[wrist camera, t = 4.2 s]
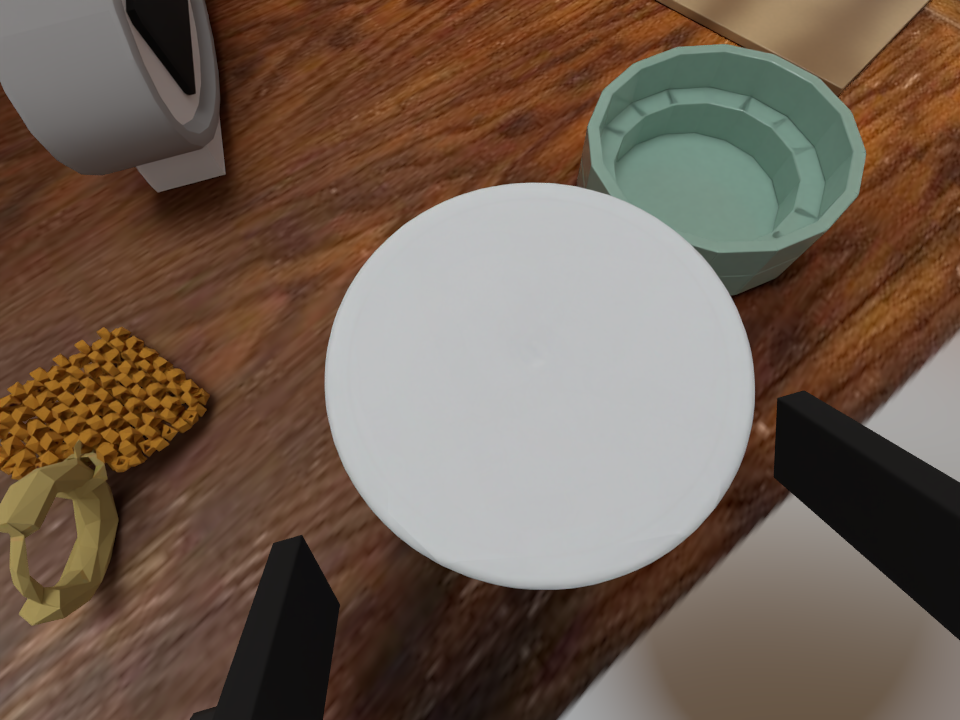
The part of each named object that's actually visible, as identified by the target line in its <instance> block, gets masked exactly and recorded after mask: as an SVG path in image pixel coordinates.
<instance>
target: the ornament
mask: <svg viewBox="0 0 960 720" xmlns="http://www.w3.org/2000/svg"><path fill="white" fill-rule="evenodd" d="M97 333H98V335H99V336H100V337H101V338H102V339H101V340H99V339H98V340H97V341H96V342H94V343H93V345H92V346H91V347H90V346H89V345H88V344H86V343H85V342H84V341H83V340H81V341H80V342H78V343H76V344H74V345H75V346H76V348H77V349H78V350H80V351H81V352H82V353H79V354H76V355H72V356H71V357H69V360H68V359H67V358H65V357H64V356H63V355H62V354H60V355H58V356H57V357H55V358H53V359H52V360H53V361H55V362H56V363H57V364H58V365H59V366H60V367H59V366H57V365H56V366H52V367H51V369H50V370H49V371H48V373H47V372H46V371H45V370H44V369H42V368H41V367H39V368H38V369H36V370H34V371H33V372H31V373H29V374H30V375H31V376H32V377H33V378H34V379H35V380H33V381H27V382H26V384H25V385H23V386H22V385H21V384H20V383H19V382H17V383H15V384H14V385H13V386H11V387H10V388H8V389H7V390H8V391H9V392H10V393H12V394H11V395H8V396H6V397H3V398H1V399H0V439H2V440H1V445H2V446H0V470H2V471H3V472H5V473H6V474H8V475H10V474H12V479H17V480H19V481H17V482H16V483H14V484H13V485H11V486H10V487H9V489H8V491H7V493H6V495H5V497H4V498H3V500H2V502H1V504H0V532H3V533H10V537H11V541H10V571H11V576H12V580H13V584H14V585H15V587H16V588H17V589H18V590H19V591H20V593H21V594H22V595H23V596H24V597H26V598H28V599H27V601H26V602H25V604H24V606H23V608H22V609H21V611H20V613H19V615H20V616H22V617H23V618H24V619H25V620H26V621H27V622H28V623H30V624H31V625H36V624H41V623H45V622H50V621H54V620H58V619H63V618H65V617H67V616H68V615H69V614H71V613H72V612H74V611H75V610H76V609H78V608H79V607H81V606H82V605H84V604H85V603H86V602H88V601H89V600H91V598H92V597H93V595H94V593H95V592H96V590H97V588H98V587H99V585H100V584H101V582H102V580H103V577H104V575H105V572H106V570H107V568H108V565H109V563H110V560H111V556H112V551H113V546H114V541H115V536H116V531H117V526H118V521H119V519H118V515H117V511H116V507H115V503H114V499H113V495H112V491H111V488H110V486H109V485H108V483H107V482H106V480H107V479H108V478H107V474H106V469H105V464H104V463H107V464H108V465H109V466H110V468H111V469H112V470H113V471H116V472H125V471H126V470H128V469H129V468H130V467H132V466H133V467H135V466H137V465H139V464H141V463H144V462H145V460H146V459H147V458H146V457H145V456H143V455H142V452H141V450H143V452H144V453H145V454H146V455H147V456H149V457H150V456H151V455H152V453H153V452H154V451H155V450H156V449H157V450H158V451H161V450H162V449H163V448H165V447H166V446H168V445H169V443H168V442H167V441H166V440H165V439H167V440H169V441H171V440H172V438H173V437H174V436H175V435H176V434H177V433H178V431H179V432H180V433H184V432H185V431H187V430H189V429H190V428H192V427H191V426H192V425H194V424H195V423H196V422H197V421H198V420H199V419H198V416H200V417H202V416H203V414H204V413H205V411H206V410H207V409H206V408H204V407H203V406H202V405H206V403H207V401H208V399H209V396H210V395H209V394H208V393H207V392H206V391H205V390H204V389H203V388H202V389H200V388H199V387H198V386H197V385H196V384H195V383H194V382H193V381H192V379H189V380H186V379H185V373H184V372H183V371H182V370H181V369H177V368H176V369H174V368H173V364H171V363H170V362H168V361H166V360H165V359H163V358H162V357H160V356H159V357H158V355H159V353H158V352H156V351H155V350H154V349H150V348H147V347H144V342H143V341H142V340H140V339H138V338H136V337H134V336H132V337H131V338H129V336H130V334H131V332H130V331H128V330H126V329H125V328H123V327H120V328H119V329H116V328H115V329H114V330H113V331H112V332H111V333H110V332H109V331H108V330H107V329H105V328H104V327H103V328H102V329H100V330H99V331H97ZM105 341H107V342H105ZM111 349H112V350H111ZM119 351H120V352H121V353H120V352H119ZM91 352H92V353H91ZM136 352H137V353H136ZM121 357H122V358H123V359H124V360H125V361H121ZM130 360H131V361H130ZM90 362H92V363H93V364H88V363H90ZM148 362H150V364H149V363H148ZM113 363H117V368H116V367H115V366H114V365H113ZM79 368H84V371H85V374H84V373H83V372H82V371H81V370H80V369H79ZM138 369H142V370H141V371H139V370H138ZM143 370H144V371H145V372H146V373H145V372H144V371H143ZM103 372H104V373H103ZM102 373H103V374H102ZM100 374H101V375H100ZM109 375H111V376H109ZM128 376H129V377H128ZM90 377H91V378H93V380H94V381H95V382H94V381H93V380H92V379H91V378H90ZM115 380H116V381H117V382H121V383H122V384H123V385H124V386H125V387H124V386H121V385H120V383H117V384H116V381H115ZM151 380H152V381H153V382H150V381H151ZM157 381H158V382H157ZM58 382H59V383H60V384H59V383H58ZM97 383H98V384H99V385H100V386H101V387H100V386H99V385H98V384H97ZM160 383H161V384H160ZM177 384H178V385H177ZM138 385H139V386H141V387H143V389H142V388H141V387H139V386H138ZM79 386H81V388H79ZM78 388H79V389H78ZM77 389H78V390H77ZM105 389H106V391H105ZM107 391H108V392H109V393H110V394H111V395H112V396H113V397H114V398H116V399H117V400H116V399H114V398H113V397H112V396H111V395H110V394H109V393H108V392H107ZM70 392H71V393H73V394H74V395H72V394H71V393H70ZM165 392H167V393H165ZM172 393H173V394H174V395H175V396H174V397H175V398H174V397H171V396H170V394H172ZM136 397H137V398H136ZM96 398H97V399H96ZM98 399H101V400H102V401H100V400H98ZM119 399H120V400H119ZM56 400H58V401H59V402H57V403H55V402H56ZM118 400H119V401H120V402H121V403H122V404H124V405H125V406H123V405H122V404H121V403H120V402H119V401H118ZM184 403H186V404H187V405H188V406H190V407H189V408H188V409H187V410H185V407H184V406H182V405H181V404H184ZM86 404H87V405H86ZM200 404H202V405H200ZM48 407H49V408H50V409H49V408H48ZM148 407H149V408H150V409H152V410H153V411H154V412H152V411H151V410H150V409H149V408H148ZM155 411H156V412H155ZM72 412H73V413H72ZM115 412H116V413H115ZM98 415H99V416H102V418H100V417H99V416H98ZM192 415H193V416H194V417H192ZM34 416H37V417H38V418H37V419H30V418H32V417H34ZM179 417H182V418H179ZM28 419H29V420H28ZM162 419H163V420H165V421H166V422H168V423H170V424H171V425H172V426H173V427H171V426H168V425H166V424H164V423H162V422H161V420H162ZM26 420H28V422H27V423H26V424H24V423H23V422H22V421H26ZM44 422H45V423H47V424H46V425H47V426H46V425H45V423H44ZM129 425H133V426H134V427H135V429H134V428H132V427H131V426H129ZM48 427H49V428H51V429H52V430H50V429H49V428H48ZM10 429H11V430H10ZM114 429H116V430H114ZM8 432H10V433H9V434H8ZM170 432H171V433H170ZM143 435H145V436H146V437H147V438H148V440H145V439H144V438H143V437H142V436H143ZM161 435H162V437H163V438H165V439H163V438H162V437H161ZM20 440H22V441H24V442H25V443H26V445H24V444H23V443H22V442H21V441H20ZM63 440H64V441H65V442H63ZM114 443H115V444H114ZM72 447H73V448H74V449H73V448H72ZM148 447H150V448H149V449H147V450H146V449H145V448H148ZM73 450H74V451H73ZM117 451H119V453H118V452H117ZM35 453H37V454H38V455H39V456H40V457H39V458H36V455H35ZM103 462H104V463H103ZM93 463H94V464H95V466H96V468H95V471H94V470H92V469H91V468H90V467H88V466H90V465H92V464H93ZM15 465H16V466H15ZM55 497H60V498H66V499H73V506H74V513H75V520H76V527H77V535H78V537H77V540H76V542H75V544H74V547H73V549H72V552H71V554H70V557H69V559H68V562H67V564H66V566H65V569H64V571H63V574H62V576H61V579H60V581H59V582H58V583H57V584H56V585H55V586H54V587H45V588H44V587H43V586H42V585H40V584H39V583H38V582H37V581H36V580H34V579H33V578H32V577H31V576H30V575H29V569H28V561H27V553H26V545H25V538H26V537H27V536H29V535H31V534H32V533H34V532H35V531H37V530H38V529H40V527H41V525H42V523H43V521H44V519H45V517H46V515H47V513H48V511H49V509H50V507H51V505H52V503H53V501H54V499H55Z"/></svg>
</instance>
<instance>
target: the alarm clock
mask: <svg viewBox="0 0 960 720" xmlns="http://www.w3.org/2000/svg"><path fill="white" fill-rule="evenodd" d="M0 82H1V84H2V86H3V89H4V91H5V93H6V94H7V96H8V97H9V99H10V101H11V102H12V104H13V105H14V107H15V108H16V110H17V112H18V113H19V115H20V116H21V118H22V119H23V121H24V123H25V124H26V126H27V127H28V129H29V130H30V132H31V133H32V134H33V135H34V136H35V137H36V138H37V140H38V141H39V142H40V143H41V144H42V145H43V146H44V147H45V148H46V149H47V150H48V151H49V152H50V153H51V154H52V155H53V156H54V157H55V158H56V160H58V161H59V162H61V163H63V164H64V165H66V166H68V167H70V168H71V169H73V170H75V171H77V172H78V173H80V174H84V175H105V174H109V173H113V172H117V171H121V170H124V169H128V168H132V167H136V168H137V169H138V171H139V172H140V173H141V175H142V176H143V177H144V178H145V180H146V181H147V182H148V183H149V184H150V186H151V187H153V188H154V189H155V190H156V191H157V192H162V191H165V190H169V189H173V188H177V187H180V186H184V185H188V184H192V183H195V182H199V181H203V180H207V179H210V178H214V177H218V176H222V175H225V174H226V172H225V163H224V154H223V145H222V135H221V126H220V117H219V110H220V88H219V72H218V65H217V59H216V52H215V46H214V40H213V35H212V31H211V26H210V22H209V16H208V13H207V8H206V4H205V1H204V0H0Z"/></svg>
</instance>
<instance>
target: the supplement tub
mask: <svg viewBox="0 0 960 720" xmlns="http://www.w3.org/2000/svg"><path fill="white" fill-rule="evenodd" d="M325 400H326V408H327V414H328V419H329V423H330V427H331V432H332V436H333V440H334V443H335V446H336V449H337V451H338V454H339V456H340V459H341V461H342V463H343V466H344V468H345V470H346V472H347V473H348V475H349V477H350V479H351V481H352V482H353V484H354V486H355V487H356V489H357V490H358V492H359V494H360V495H361V496H362V498H363V499H364V500H365V502H366V503H367V504H368V506H369V507H370V508H371V510H372V511H373V512H374V513H375V514H376V515H377V516H378V517H379V519H380V520H381V521H382V522H383V523H384V524H385V525H386V526H387V527H388V528H389V529H390V530H391V531H393V532H394V533H395V534H396V535H397V536H398V537H399V538H401V539H402V540H403V541H404V542H406V543H407V544H408V545H410V546H411V547H412V548H413V549H415V550H416V551H418V552H420V553H421V554H423V555H425V556H426V557H428V558H430V559H431V560H433V561H434V562H436V563H438V564H440V565H442V566H444V567H446V568H448V569H451V570H453V571H455V572H458V573H460V574H463V575H465V576H467V577H470V578H473V579H477V580H480V581H484V582H488V583H491V584H495V585H500V586H505V587H511V588H519V589H531V590H558V589H570V588H578V587H584V586H589V585H595V584H598V583H601V582H605V581H608V580H612V579H615V578H617V577H620V576H623V575H626V574H629V573H631V572H633V571H636V570H638V569H640V568H642V567H644V566H646V565H648V564H651V563H652V562H654V561H655V560H657V559H659V558H660V557H662V556H664V555H665V554H667V553H668V552H670V551H671V550H672V549H674V548H675V547H676V546H678V545H679V544H680V543H682V542H683V541H684V540H685V539H686V538H687V537H688V536H690V535H691V534H692V533H693V532H694V531H695V530H696V529H697V528H698V527H699V526H700V525H701V524H702V523H703V522H704V520H705V519H706V518H707V517H708V516H709V515H710V514H711V512H712V511H713V510H714V509H715V508H716V506H717V505H718V503H719V502H720V500H721V499H722V497H723V496H724V494H725V493H726V491H727V490H728V488H729V486H730V484H731V483H732V481H733V479H734V477H735V475H736V473H737V471H738V469H739V467H740V464H741V461H742V459H743V456H744V454H745V450H746V447H747V444H748V440H749V436H750V431H751V427H752V421H753V414H754V405H755V380H754V368H753V360H752V354H751V349H750V345H749V342H748V338H747V334H746V331H745V328H744V326H743V323H742V320H741V318H740V315H739V313H738V310H737V308H736V306H735V304H734V302H733V300H732V298H731V296H730V294H729V292H728V291H727V289H726V288H725V286H724V284H723V283H722V281H721V280H720V278H719V277H718V276H717V274H716V273H715V271H714V270H713V268H712V267H711V266H710V265H709V264H708V262H707V261H706V260H705V259H704V258H703V256H702V255H701V254H700V253H699V252H698V251H697V250H696V249H695V248H694V247H693V246H692V245H691V244H690V243H688V242H687V241H686V240H685V239H684V238H683V237H682V236H681V235H679V234H678V233H677V232H675V231H674V230H673V229H672V228H670V227H669V226H667V225H666V224H665V223H663V222H662V221H660V220H659V219H657V218H656V217H654V216H652V215H651V214H649V213H647V212H645V211H644V210H642V209H640V208H638V207H636V206H634V205H632V204H629V203H627V202H625V201H623V200H620V199H618V198H615V197H613V196H610V195H607V194H603V193H600V192H597V191H593V190H589V189H585V188H581V187H576V186H569V185H562V184H554V183H516V184H507V185H500V186H494V187H489V188H483V189H479V190H476V191H472V192H469V193H466V194H463V195H459V196H457V197H454V198H452V199H449V200H447V201H445V202H442V203H440V204H438V205H436V206H434V207H432V208H430V209H429V210H427V211H425V212H423V213H421V214H420V215H418V216H417V217H415V218H414V219H412V220H411V221H409V222H407V223H406V224H405V225H403V226H402V227H401V228H400V229H399V230H397V231H396V232H395V233H394V234H393V235H391V236H390V237H389V238H388V239H387V240H386V241H385V242H384V243H383V244H382V245H381V246H380V247H379V248H378V249H377V250H376V251H375V252H374V253H373V254H372V256H371V257H370V258H369V259H368V260H367V262H366V263H365V264H364V265H363V267H362V268H361V269H360V271H359V272H358V274H357V275H356V277H355V279H354V280H353V282H352V283H351V285H350V287H349V288H348V290H347V292H346V294H345V296H344V298H343V300H342V303H341V305H340V307H339V309H338V311H337V314H336V317H335V320H334V323H333V326H332V330H331V335H330V339H329V343H328V348H327V355H326V363H325Z"/></svg>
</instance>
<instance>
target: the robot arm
mask: <svg viewBox="0 0 960 720" xmlns="http://www.w3.org/2000/svg"><path fill="white" fill-rule="evenodd" d="M774 478H775V479H776V480H778V481H779V482H780V483H781V484H782V485H783V486H784V487H786V488H787V489H788V490H789V491H790V492H791V493H792V494H794V495H795V496H796V497H797V498H798V499H799V500H800V501H802V502H803V503H804V504H805V505H806V506H807V507H808V508H810V509H811V510H812V511H813V512H814V513H815V514H816V515H818V516H819V517H820V518H821V519H822V520H823V521H824V522H826V523H827V524H828V525H829V526H830V527H831V528H832V529H833V530H835V531H836V532H837V533H838V534H839V535H840V536H841V537H843V538H844V539H845V540H846V541H847V542H848V543H849V544H851V545H852V546H853V547H854V548H855V549H856V550H857V551H859V552H860V553H861V554H862V555H863V556H864V557H865V558H867V559H868V560H869V561H870V562H871V563H872V564H873V565H875V566H876V567H877V568H878V569H879V570H880V571H882V572H883V573H884V574H885V575H886V576H887V577H888V578H889V579H891V580H892V581H893V582H894V583H895V584H896V585H897V586H898V587H900V588H901V589H902V590H903V591H904V592H905V593H907V594H908V595H909V596H910V597H911V598H913V600H914V601H916V602H917V603H918V604H919V605H920V606H921V607H922V608H924V609H925V610H926V611H927V612H928V613H929V614H930V615H931V616H933V617H934V618H935V619H936V620H937V621H938V622H940V623H941V624H942V625H943V626H944V627H945V628H946V629H948V630H949V631H950V632H951V633H952V634H953V635H954V636H955V637H957V638H958V639H959V640H960V482H958V481H956V480H955V479H953V478H951V477H949V476H948V475H946V474H944V473H943V472H941V471H939V470H938V469H936V468H934V467H933V466H931V465H929V464H927V463H926V462H924V461H922V460H921V459H919V458H917V457H916V456H914V455H912V454H911V453H909V452H907V451H905V450H904V449H902V448H900V447H899V446H897V445H895V444H894V443H892V442H890V441H889V440H887V439H885V438H884V437H882V436H880V435H878V434H877V433H875V432H873V431H872V430H870V429H868V428H867V427H865V426H863V425H862V424H860V423H858V422H857V421H855V420H853V419H851V418H850V417H848V416H846V415H845V414H843V413H841V412H840V411H838V410H836V409H835V408H833V407H831V406H830V405H828V404H826V403H824V402H823V401H821V400H819V399H818V398H816V397H814V396H813V395H811V394H809V393H808V392H806V391H801V392H797V393H794V394H790V395H787V396H783V397H780V398H777V418H776V439H775V461H774ZM339 607H340V604H339V602H338V600H337V598H336V596H335V595H334V593H333V591H332V589H331V587H330V585H329V584H328V582H327V580H326V578H325V576H324V574H323V572H322V571H321V569H320V567H319V565H318V563H317V561H316V560H315V558H314V556H313V554H312V552H311V550H310V549H309V547H308V545H307V543H306V541H305V539H304V538H303V536H302V535H300V536H297V537H293V538H290V539H286V540H283V541H279V542H276V543H273V545H272V548H271V551H270V554H269V557H268V560H267V563H266V566H265V569H264V572H263V574H262V577H261V580H260V583H259V586H258V589H257V592H256V595H255V598H254V601H253V603H252V606H251V609H250V612H249V615H248V618H247V621H246V624H245V627H244V629H243V632H242V635H241V638H240V641H239V644H238V647H237V650H236V653H235V656H234V658H233V661H232V664H231V667H230V670H229V673H228V676H227V679H226V682H225V685H224V687H223V690H222V693H221V696H220V699H219V702H218V705H217V706H216V707H213V708H210V709H206V710H203V711H200V712H196V713H194V714H193V715H192V717H191V718H190V720H323V714H324V707H325V701H326V694H327V687H328V681H329V674H330V667H331V661H332V654H333V647H334V641H335V634H336V627H337V621H338V614H339Z"/></svg>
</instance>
